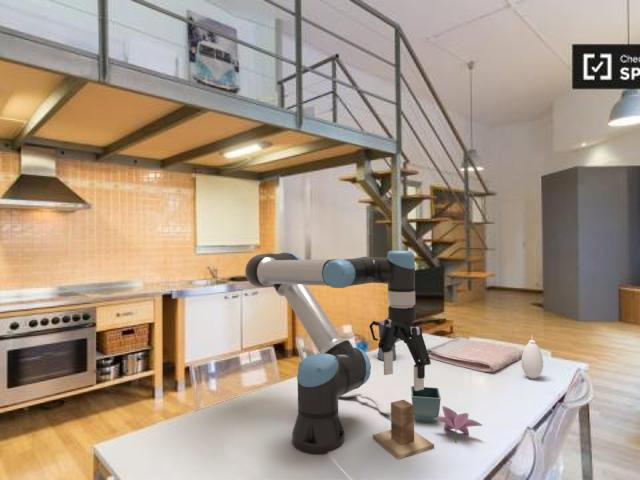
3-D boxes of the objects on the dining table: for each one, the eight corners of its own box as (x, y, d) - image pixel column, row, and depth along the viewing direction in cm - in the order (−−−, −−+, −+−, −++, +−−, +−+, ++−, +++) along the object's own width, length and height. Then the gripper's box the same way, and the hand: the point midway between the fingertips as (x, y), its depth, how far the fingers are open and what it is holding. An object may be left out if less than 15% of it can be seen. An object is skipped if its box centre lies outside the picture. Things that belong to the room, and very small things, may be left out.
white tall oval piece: (541, 383, 156) (541, 337, 156) (520, 378, 160) (519, 334, 160) (544, 377, 162) (544, 333, 162) (523, 373, 167) (523, 331, 166)
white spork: (392, 423, 123) (392, 412, 123) (323, 394, 147) (323, 385, 147) (409, 414, 129) (408, 404, 129) (340, 388, 153) (340, 379, 153)
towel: (459, 344, 214) (459, 334, 214) (525, 358, 189) (525, 346, 189) (423, 359, 190) (423, 347, 190) (493, 376, 165) (493, 363, 165)
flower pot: (441, 427, 120) (441, 398, 120) (411, 425, 122) (411, 396, 122) (438, 414, 128) (438, 387, 128) (410, 412, 130) (410, 385, 130)
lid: (398, 459, 102) (398, 417, 102) (372, 438, 113) (372, 400, 113) (434, 448, 107) (433, 407, 107) (406, 429, 118) (405, 392, 118)
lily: (488, 449, 109) (484, 411, 114) (465, 444, 103) (462, 405, 108) (450, 446, 118) (448, 412, 122) (426, 442, 111) (425, 406, 116)
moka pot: (404, 361, 184) (403, 319, 184) (371, 362, 184) (370, 319, 184) (400, 355, 193) (399, 315, 193) (368, 355, 193) (368, 315, 193)
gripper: (444, 311, 100) (445, 394, 100) (386, 298, 123) (387, 366, 123) (420, 314, 97) (422, 400, 97) (366, 300, 119) (367, 370, 119)
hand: (402, 381), depth 110 cm, fingers open, 13 cm apart
